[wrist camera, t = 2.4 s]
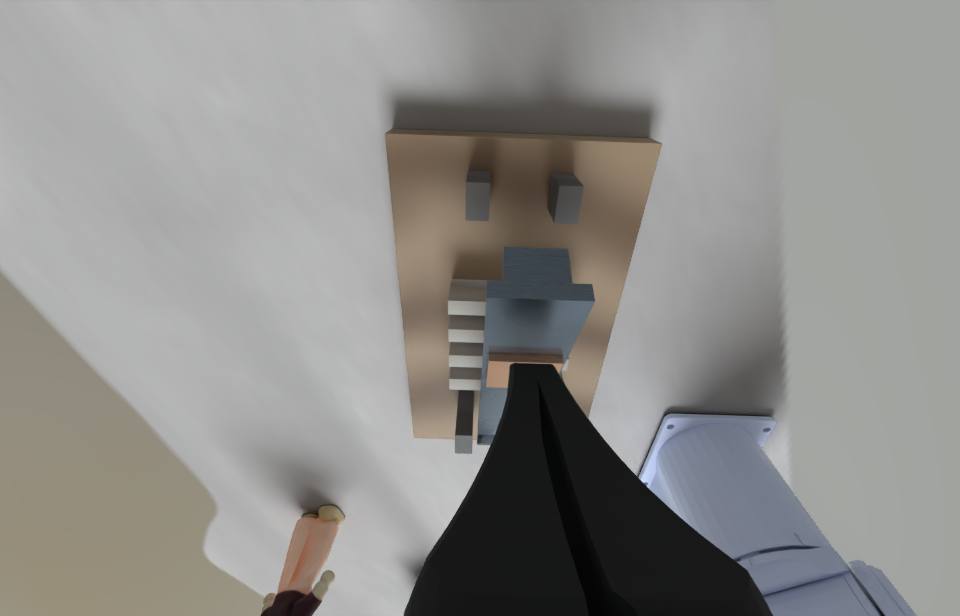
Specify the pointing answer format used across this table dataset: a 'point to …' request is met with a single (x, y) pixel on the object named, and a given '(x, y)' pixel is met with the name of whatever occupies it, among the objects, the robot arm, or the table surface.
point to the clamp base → (487, 230)
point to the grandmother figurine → (305, 565)
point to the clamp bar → (527, 323)
